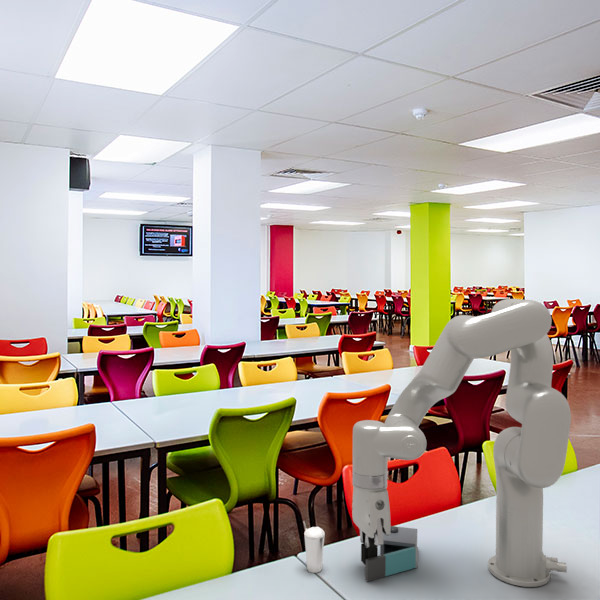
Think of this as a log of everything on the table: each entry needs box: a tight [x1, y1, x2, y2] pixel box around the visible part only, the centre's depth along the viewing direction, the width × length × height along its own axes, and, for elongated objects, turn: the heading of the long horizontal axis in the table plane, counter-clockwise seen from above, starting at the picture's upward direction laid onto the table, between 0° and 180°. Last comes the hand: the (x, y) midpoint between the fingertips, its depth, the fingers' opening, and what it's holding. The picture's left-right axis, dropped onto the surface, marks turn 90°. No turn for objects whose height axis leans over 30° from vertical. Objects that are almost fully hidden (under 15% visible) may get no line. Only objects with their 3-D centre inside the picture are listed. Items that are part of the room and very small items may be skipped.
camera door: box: [365, 545, 419, 582], centre depth 119 cm, size 14×1×4 cm, turn 117°
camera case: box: [379, 525, 418, 556], centre depth 128 cm, size 8×8×6 cm
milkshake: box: [302, 520, 326, 574], centre depth 122 cm, size 4×5×10 cm
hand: (369, 562), depth 120 cm, fingers closed
